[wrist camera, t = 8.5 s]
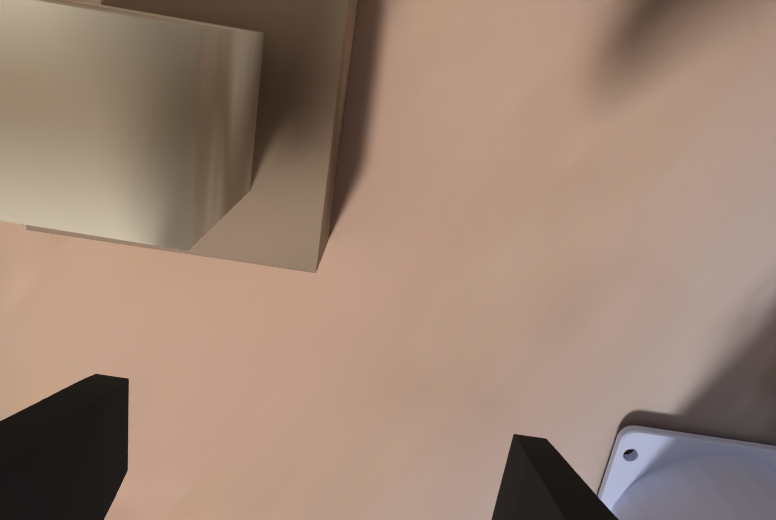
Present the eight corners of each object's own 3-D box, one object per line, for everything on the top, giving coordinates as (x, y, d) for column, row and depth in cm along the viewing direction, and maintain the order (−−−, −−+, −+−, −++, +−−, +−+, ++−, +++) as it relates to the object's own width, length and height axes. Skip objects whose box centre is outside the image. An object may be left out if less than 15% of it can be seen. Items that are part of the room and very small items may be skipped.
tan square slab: (328, 240, 20) (315, 272, 17) (80, 202, 20) (26, 229, 17) (361, -29, 17) (353, -43, 15) (75, -75, 17) (10, -99, 14)
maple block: (249, 190, 16) (188, 251, 12) (99, 166, 16) (-25, 216, 12) (264, 32, 15) (201, 28, 10) (100, 4, 15) (-40, -13, 10)
